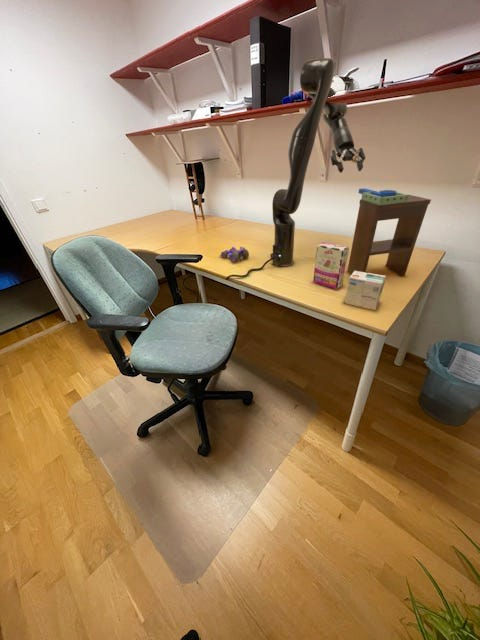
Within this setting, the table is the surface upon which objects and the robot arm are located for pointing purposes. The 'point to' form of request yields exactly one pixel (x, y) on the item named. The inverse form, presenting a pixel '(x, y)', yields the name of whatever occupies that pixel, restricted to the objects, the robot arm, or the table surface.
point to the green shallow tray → (384, 198)
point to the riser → (397, 247)
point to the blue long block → (382, 194)
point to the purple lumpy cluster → (235, 254)
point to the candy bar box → (330, 264)
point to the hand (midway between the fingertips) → (351, 170)
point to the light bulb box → (364, 289)
